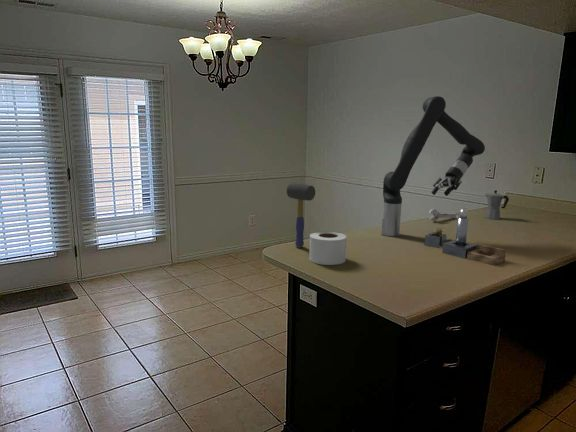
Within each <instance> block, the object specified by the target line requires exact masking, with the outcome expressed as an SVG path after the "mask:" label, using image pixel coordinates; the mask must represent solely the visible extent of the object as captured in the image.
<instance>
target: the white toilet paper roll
mask: <svg viewBox="0 0 576 432" xmlns="http://www.w3.org/2000/svg"><path fill="white" fill-rule="evenodd" d="M347 237H348V236H347V235H346V234H343V233H341V232H333V231H319V232H318V231H317V232H313V233H310V234H309V261H310V262H312V263H314V264H318V265H323V266H336V265H342V264H344V263H346V257H347V256H346V254H347Z"/></svg>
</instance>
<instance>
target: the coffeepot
mask: <svg viewBox="0 0 576 432" xmlns="http://www.w3.org/2000/svg"><path fill="white" fill-rule="evenodd" d="M493 192H494V193H485V194H484V195H485V197H486V198H487V199H486V200H487V205H488V206H487V209H486V212H485V219H487V218H488V220H493V221H494V220H496V221H498V220H500V219H501V210H500V208H501V209H505V208H506V207H507V205H508V203H509V200H510V199H509V197H508V195H505V194H504V195H503V194H500V193H497V192H498V190H494V191H493ZM503 199H504V203H503V206H501V204H502V201H503Z"/></svg>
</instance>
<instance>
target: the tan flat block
mask: <svg viewBox="0 0 576 432" xmlns="http://www.w3.org/2000/svg"><path fill="white" fill-rule="evenodd" d="M435 229H436V230H435V232H436V237H439V236H440V235H442V234H447V237H446V242H448V241H450V240H451V234H452V231H451V230H452V224H447V223H445V224H443V225H440V226H438V227H436V228H435Z"/></svg>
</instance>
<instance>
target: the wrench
mask: <svg viewBox="0 0 576 432" xmlns="http://www.w3.org/2000/svg"><path fill="white" fill-rule="evenodd" d="M427 214H429V215H432V216H431V217H429V219H428V220H430V221H432V222H433V221H436V222H437V221H438V220H439V219H442V218H443V219H444V218H445V219H458V217H460V213H455V212H454V213H451V212H450V213H448V212H447V213H446V212H444V213H443V212H439V211H438V210H437V209H435V208H430V209H429V211H428V213H427Z"/></svg>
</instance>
